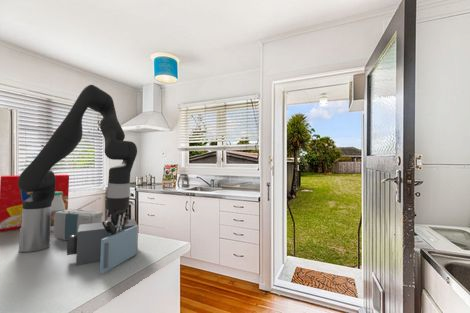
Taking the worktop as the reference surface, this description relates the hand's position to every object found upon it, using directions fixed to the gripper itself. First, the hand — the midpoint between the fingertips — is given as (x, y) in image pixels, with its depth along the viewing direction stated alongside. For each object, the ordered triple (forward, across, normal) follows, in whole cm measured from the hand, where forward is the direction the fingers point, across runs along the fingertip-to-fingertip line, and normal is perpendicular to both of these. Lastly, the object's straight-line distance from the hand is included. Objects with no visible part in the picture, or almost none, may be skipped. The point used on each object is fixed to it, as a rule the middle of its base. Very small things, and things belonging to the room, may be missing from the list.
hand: (115, 242), depth 82 cm
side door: (+7, 0, -3) cm, 8 cm away
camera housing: (+9, +7, +9) cm, 14 cm away
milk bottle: (+11, +33, +54) cm, 65 cm away
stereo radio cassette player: (+10, +22, +31) cm, 39 cm away
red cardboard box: (+12, +38, +70) cm, 81 cm away
